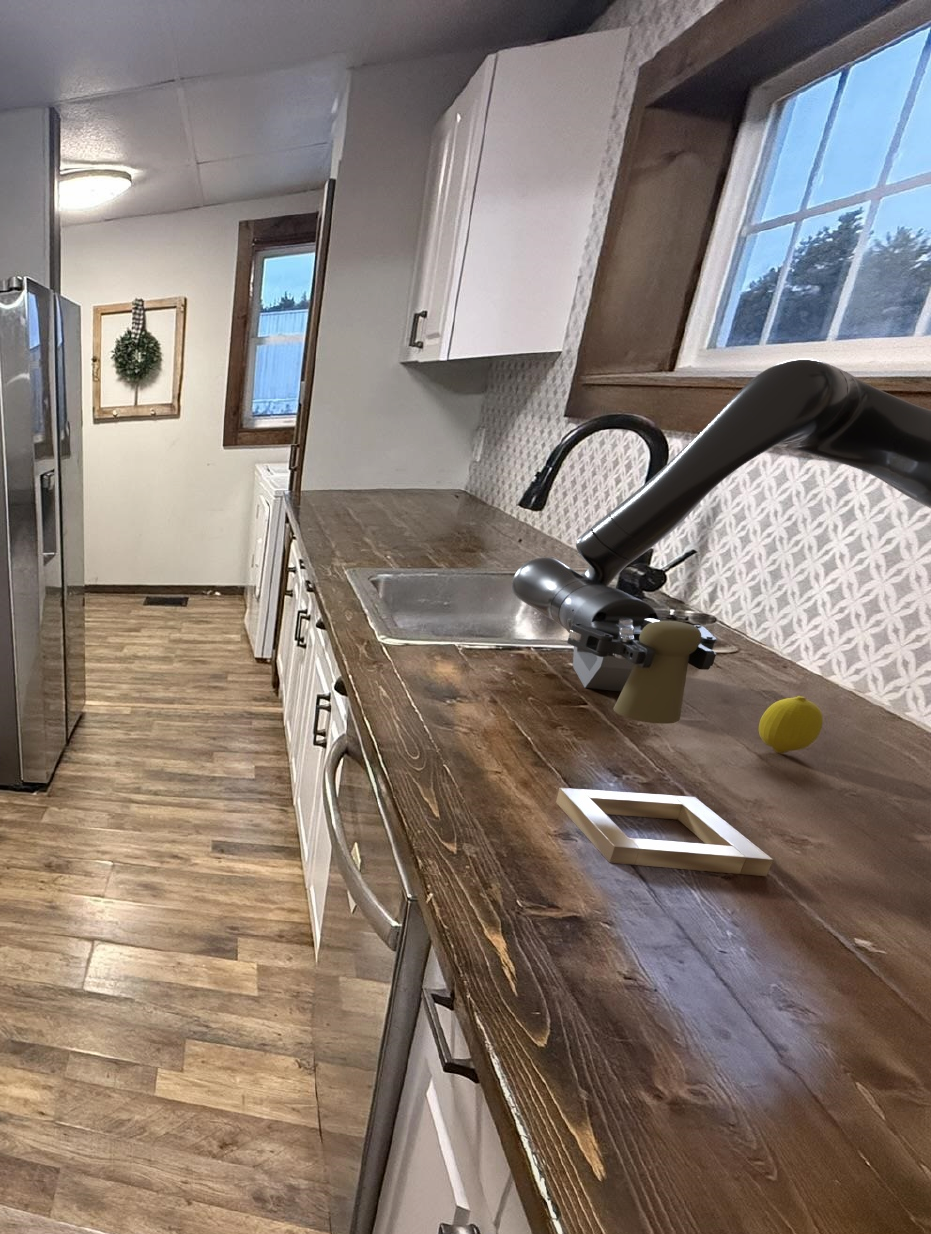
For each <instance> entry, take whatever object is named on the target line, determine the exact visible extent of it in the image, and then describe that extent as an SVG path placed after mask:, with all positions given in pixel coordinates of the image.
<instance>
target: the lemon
mask: <svg viewBox="0 0 931 1234" xmlns="http://www.w3.org/2000/svg"><path fill="white" fill-rule="evenodd" d="M823 720H824V718H823V713H822V710H821V709H820V707H818V705H817V704H815V703H814V702H813V701H810V700H808V699H806V697H805V696H801V695H797V696H795V697H787V698H783V699H780V700H779V699H778V700H777V701H775V702H773V703H772V704H771V705H769V707H767V708H766V709H765V711H764V712H763V714H762V716H761V718H760V720H759V723H758V724H759V725H758V735H759V737H760V739H761V740H762V741H763V743H765V744H766V745H767V746H769V747H771V748H772V749H773V750H774V752H775V753H777V754H785V753H786V752H787V753H788V752H792V751H799V750H801V749H804V748H807V747H809V746H810V745H812V744H813V743H814V742H815V741H816V740H817V738H818V737H819V736H820V733H821V731H822V728H823Z"/></svg>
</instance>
